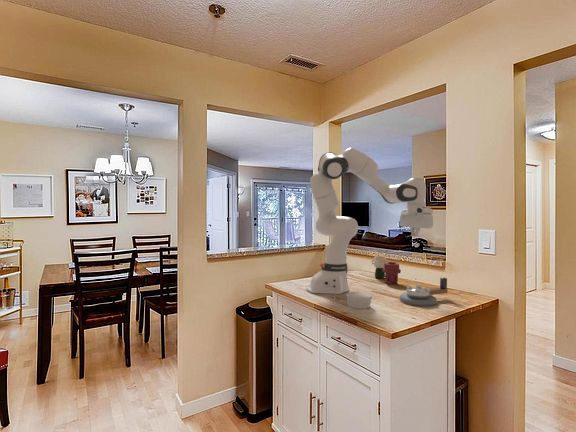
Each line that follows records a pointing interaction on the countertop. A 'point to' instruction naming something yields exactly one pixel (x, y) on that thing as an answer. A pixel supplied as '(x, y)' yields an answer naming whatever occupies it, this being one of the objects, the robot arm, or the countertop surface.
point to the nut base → (418, 300)
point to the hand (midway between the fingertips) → (414, 236)
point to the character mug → (379, 266)
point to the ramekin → (359, 300)
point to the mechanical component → (391, 272)
